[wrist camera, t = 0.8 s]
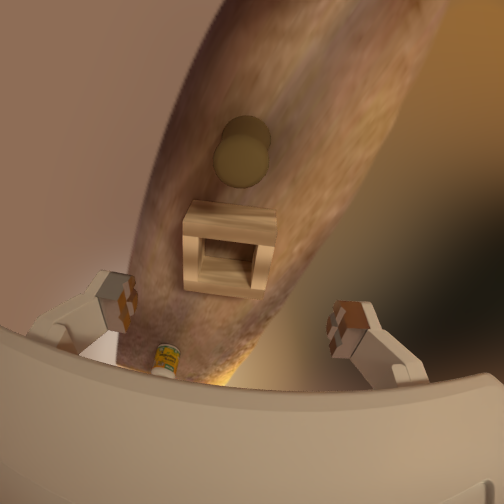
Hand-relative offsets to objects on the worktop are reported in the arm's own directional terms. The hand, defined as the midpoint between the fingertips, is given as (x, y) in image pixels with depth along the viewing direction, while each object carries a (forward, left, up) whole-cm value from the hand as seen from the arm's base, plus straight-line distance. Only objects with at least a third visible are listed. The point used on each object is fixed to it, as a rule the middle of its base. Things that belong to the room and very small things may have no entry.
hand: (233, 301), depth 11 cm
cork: (0, -1, -27) cm, 27 cm away
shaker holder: (+15, -1, -27) cm, 31 cm away
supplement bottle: (+47, -13, -27) cm, 56 cm away
